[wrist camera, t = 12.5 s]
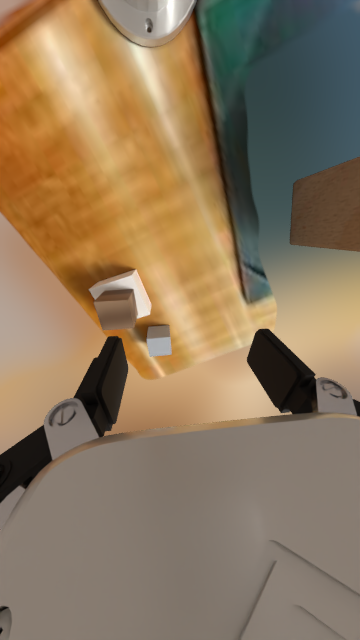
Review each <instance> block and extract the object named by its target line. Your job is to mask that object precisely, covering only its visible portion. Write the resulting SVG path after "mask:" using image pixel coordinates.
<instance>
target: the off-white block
mask: <svg viewBox="0 0 360 640" xmlns="http://www.w3.org/2000/svg"><path fill="white" fill-rule="evenodd" d="M125 289H134V294H135V300H136V306H137V311H138V316H137V318H140V317H144V316H147V315H150V310H151V303H150V300H149V298H148V296H147V293H146V291H145V289H144V286H143V284H142V282H141V280H140V277H139V275H138V273H137V270H136V269H135V270H132V271H129V272H126V273H123V274H120V275H117V276H114V277H111V278H108V279H105V280H102V281H99V282H97V283H96V284H95V285H94V286H92V287H91V288H90V289H89V291H90V293H91V294H92V296H93V298H94V299H95V300H96V299H97V298H98V297H99V296H100V295H101V294H102V293H103V291H105V290H125Z"/></svg>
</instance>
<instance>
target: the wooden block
mask: <svg viewBox="0 0 360 640" xmlns="http://www.w3.org/2000/svg"><path fill="white" fill-rule="evenodd" d="M290 231H291V232H290V244H291V245H299V246H309V247H319V248H329V249H339V250H349V251H358V252H360V157H357V158H355V159H352V160H349V161H347V162H344V163H342V164H339V165H336V166H334V167H331V168H328V169H326V170H323V171H321V172H318V173H315V174H313V175H310V176H307V177H305V178H302V179H299V180H297V181H296V182H295V183H294V185H293V197H292V213H291V230H290Z"/></svg>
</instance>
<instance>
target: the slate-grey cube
mask: <svg viewBox="0 0 360 640" xmlns="http://www.w3.org/2000/svg"><path fill="white" fill-rule="evenodd" d="M147 345H148V350H149V355H150V357H151V356H161V355H171V354H172V353H171V340H170V329H169V325H163V326H152V327H148V332H147Z"/></svg>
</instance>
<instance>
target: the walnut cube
mask: <svg viewBox="0 0 360 640" xmlns="http://www.w3.org/2000/svg"><path fill="white" fill-rule="evenodd" d="M94 305H95V308H96V311H97V314H98V317H99V320H100V324H101V327H102V330H114V329H128V328H134V326H135V323H136V319H137V316H138V311H137V306H136V300H135V294H134V289H125V290H105V291H103V293H102V294H101V295H100V296H99V297H98V298H97V299H96V300H95V301H94Z"/></svg>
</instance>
